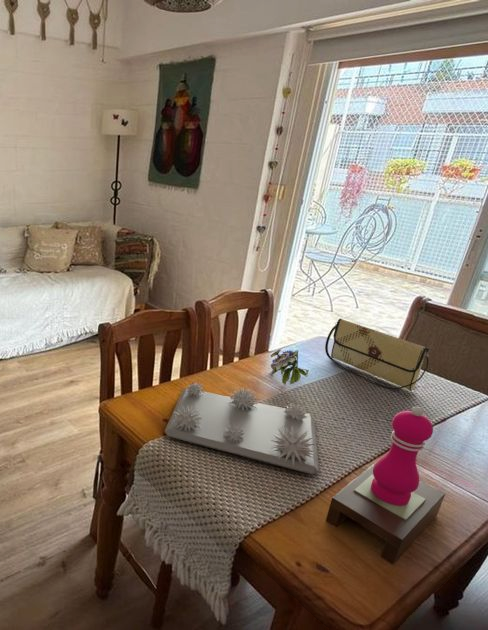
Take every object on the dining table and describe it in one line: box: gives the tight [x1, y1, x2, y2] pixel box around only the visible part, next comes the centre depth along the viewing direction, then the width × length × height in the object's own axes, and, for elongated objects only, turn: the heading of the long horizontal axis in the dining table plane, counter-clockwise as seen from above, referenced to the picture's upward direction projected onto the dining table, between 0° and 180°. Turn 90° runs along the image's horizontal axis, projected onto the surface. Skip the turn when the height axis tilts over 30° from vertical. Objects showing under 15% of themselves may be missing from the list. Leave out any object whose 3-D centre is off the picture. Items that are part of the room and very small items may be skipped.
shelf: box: [325, 462, 446, 565], centre depth 87 cm, size 12×20×6 cm, turn 124°
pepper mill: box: [371, 406, 434, 506], centre depth 83 cm, size 7×7×20 cm
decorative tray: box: [164, 381, 320, 475], centre depth 114 cm, size 35×26×10 cm
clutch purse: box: [324, 318, 430, 392], centre depth 142 cm, size 30×7×15 cm, turn 27°
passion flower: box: [270, 348, 310, 386], centre depth 141 cm, size 11×11×12 cm
